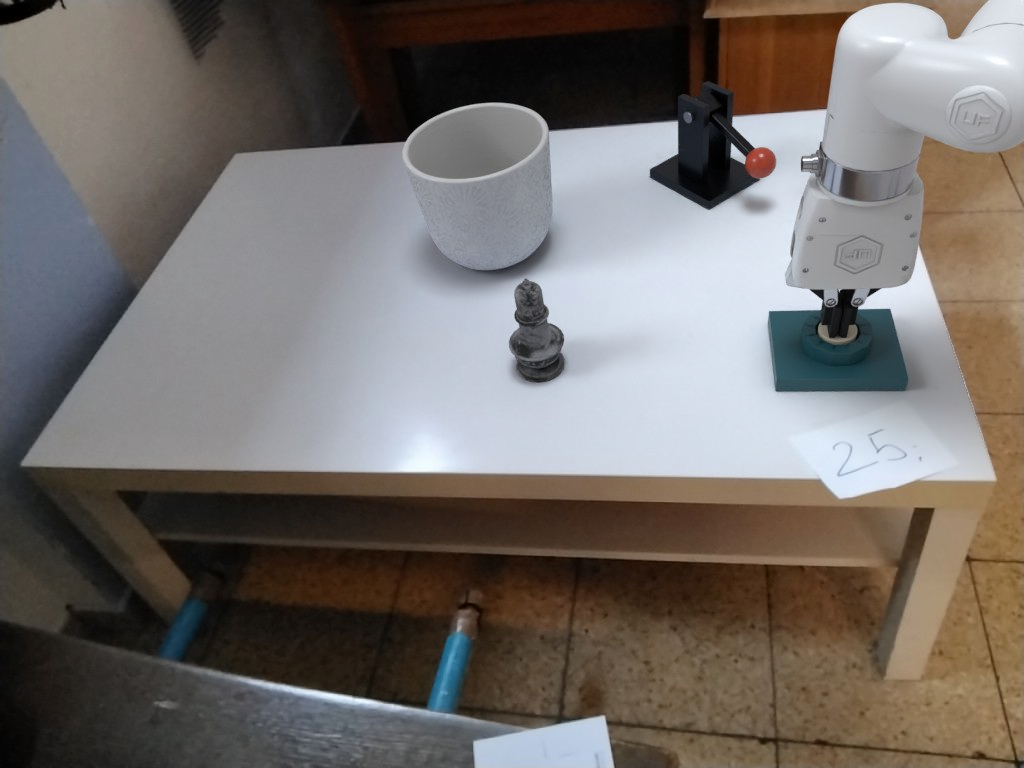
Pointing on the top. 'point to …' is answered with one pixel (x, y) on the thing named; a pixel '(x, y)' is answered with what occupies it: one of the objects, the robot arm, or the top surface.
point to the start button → (837, 340)
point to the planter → (483, 182)
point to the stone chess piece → (535, 336)
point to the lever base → (703, 153)
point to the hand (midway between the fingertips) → (835, 327)
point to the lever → (740, 140)
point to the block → (836, 354)
